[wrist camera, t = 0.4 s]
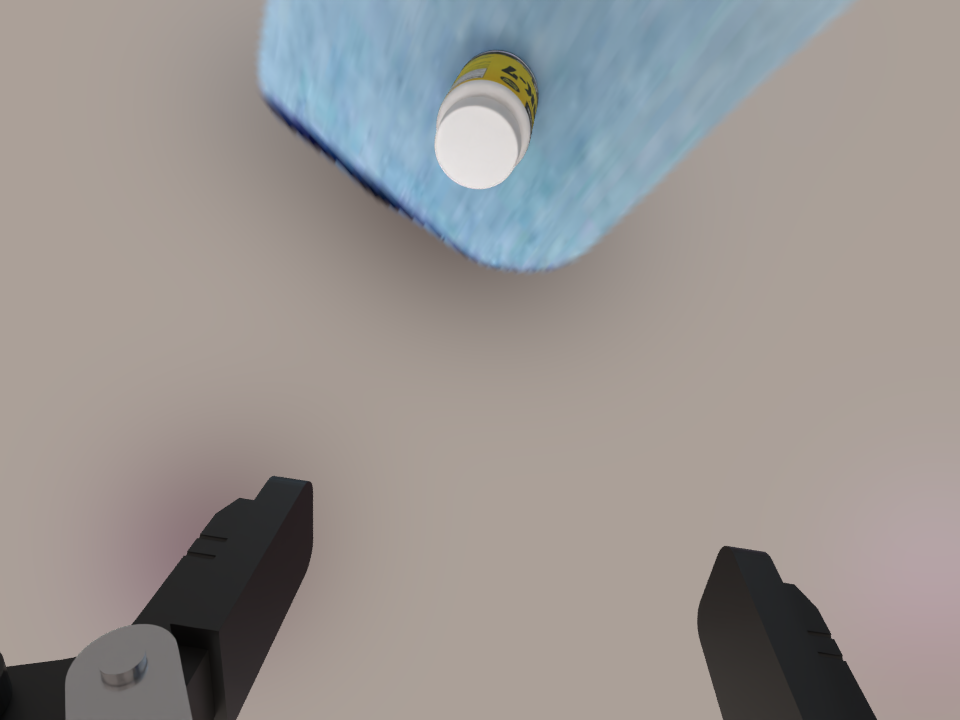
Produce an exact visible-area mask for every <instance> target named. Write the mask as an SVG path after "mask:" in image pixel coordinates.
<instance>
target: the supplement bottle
mask: <svg viewBox="0 0 960 720" xmlns="http://www.w3.org/2000/svg"><path fill="white" fill-rule="evenodd" d="M537 105H538V87H537V83H536V80H535V77H534V75H533V73H532V72H531V70H530V69H529V67H528V66H527V65H526V64H525V63H524V62H523V61H522V60H521V59H520V58H518V57H517V56H515V55H513V54H511V53H508V52H505V51H487V52H484V53H481V54H479V55H477V56H475V57H474V58H472V59H471V60H470V61H469V62H468V63H467V64H466V65H465V66H464V68H463V69H462V71H461V72H460V74H459V76H458V77H457V79H456V80H455V82H454V84H453V85H452V87H451V89H450V90H449V92H448V94H447V96H446V97H445V99H444V101H443V102H442V104H441V106H440V109H439V112H438V116H437V125H436V130H437V132H436V136H435V153H436V157H437V160H438V162H439V165H440V166H441V168H442V169H443V171H444V172H445V173H446V174H447V176H448V177H449V178H451V179H452V180H453V181H455V182H456V183H458V184H460V185H462V186H465V187H468V188H472V189H486V188H490V187H493V186H496V185H498V184H499V183H501V182H503V181H504V180H505V179H506V178H507V177H508V176H509V175H510V174H511V172H512V171H513V169H514V167H515V166H516V165H517V164H518V163H519V162H520V161H521V159H522V158H523V156H524V155H525V153H526V151H527V148H528V145H529V142H530V138H531V134H532V129H533V124H534V119H535V114H536V110H537Z"/></svg>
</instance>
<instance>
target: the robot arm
mask: <svg viewBox="0 0 960 720" xmlns="http://www.w3.org/2000/svg"><path fill="white" fill-rule="evenodd" d="M312 547H313V487H312V483H311V482H309V481H303V480H296V479H290V478H284V477H277V476H272V477H271V478H269V480H268V481H267V482H266V484H265V485H264V487H263V488H262V490H261V491H260V492H259V494H258V495H257V497H256V499H255V500H249V499H243V498H239V499H237V500H236V501H234V502H233V503H231V504H230V505H228V506H227V507H225V508H224V509H222V510H221V511H219V512H218V513H216V514H215V515H214V517H213V518H212V519H211V521H210V522H209V523H208V525H207V526H206V527H205V529H204V530H203V531H202V533H201V534H200V538H197V539H196V540H195V542H194V543H193V544H192V546H191V547H190V549H189V550H188V551H187V555H186V556H183V558H182V559H181V560H180V562H179V563H178V564H177V566H176V567H175V568H174V570H173V571H172V572H171V574H170V575H169V576H168V578H167V579H166V580H165V582H164V583H163V584H162V586H161V587H160V588H159V590H158V591H157V592H156V594H155V595H154V596H153V597H152V599H151V600H150V602H149V603H148V604H147V606H146V607H145V608H144V610H143V611H142V612H141V613H140V615H139V616H138V618H137V619H136V620H135V621H134V622H133V624H132V625H129V626H125V627H122V628H118V629H116V630H113V631H111V632H109V633H107V634H105V635H103V636H101V637H99V638H98V639H96V640H95V641H93V642H92V643H90V644H89V645H88V646H87V647H86V648H84V649H83V650H82V652H81V653H80V654H79V655H78V656H77V657H74V658H69V659H63V660H56V661H48V662H41V663H33V664H25V665H17V666H9V667H6V665H5V662H4V659H3V656H2V654H1V653H0V720H236V719H237V717H238V715H239V713H240V710H241V708H242V706H243V704H244V702H245V700H246V698H247V696H248V693H249V692H250V689H251V687H252V685H253V683H254V681H255V679H256V677H257V675H258V673H259V670H260V668H261V666H262V664H263V662H264V660H265V658H266V656H267V654H268V652H269V649H270V647H271V645H272V643H273V641H274V639H275V637H276V635H277V633H278V631H279V629H280V626H281V624H282V622H283V620H284V618H285V616H286V614H287V612H288V610H289V608H290V606H291V603H292V601H293V599H294V597H295V595H296V593H297V591H298V589H299V587H300V585H301V582H302V580H303V578H304V576H305V574H306V571H307V569H308V566H309V562H310V558H311V554H312ZM697 619H698V620H697V624H698V634H699V638H700V642H701V645H702V649H703V652H704V656H705V659H706V663H707V666H708V669H709V673H710V676H711V680H712V683H713V686H714V690H715V693H716V697H717V700H718V703H719V707H720V710H721V714H722V717H723V720H877V719H876V717H875V715H874V713H873V711H872V709H871V708H870V706H869V704H868V702H867V700H866V698H865V696H864V694H863V693H862V691H861V689H860V687H859V685H858V683H857V681H856V680H855V678H854V676H853V674H852V672H851V670H850V668H849V666H848V665H847V663H846V661H843V659H842V653H841V651H840V650H839V648H838V646H837V644H836V642H835V640H834V639H831V633H830V631H829V629H828V627H827V625H826V624H825V622H824V620H823V618H822V616H821V614H820V612H819V611H818V609H817V608H816V606H815V605H814V604H812V603H811V601H810V600H809V599H808V598H807V597H806V596H805V595H804V594H803V593H802V592H801V591H800V590H799V589H798V588H797V587H796V586H795V585H794V584H788V583H783V582H782V579H781V578H780V575H779V573H778V571H777V569H776V567H775V565H774V563H773V561H772V559H771V557H770V556H769V555H768V554H767V553H766V552H762V551H755V550H749V549H742V548H736V547H729V546H724V547H722V549H721V550H720V551H719V553H718V556H717V559H716V561H715V564H714V566H713V569H712V572H711V574H710V577H709V580H708V582H707V585H706V588H705V590H704V593H703V596H702V598H701V601H700V604H699V608H698V618H697Z"/></svg>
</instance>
